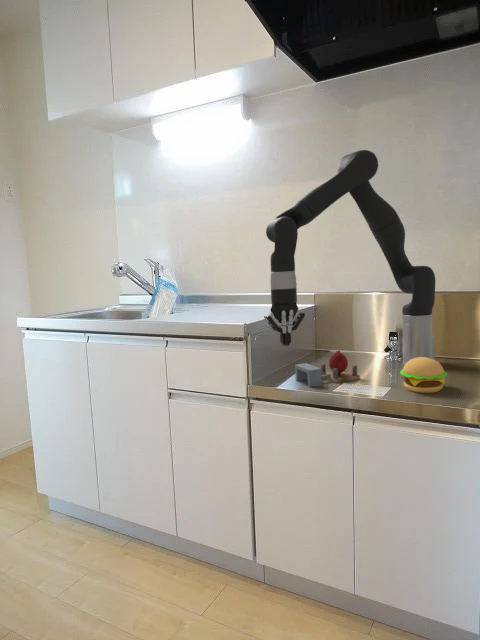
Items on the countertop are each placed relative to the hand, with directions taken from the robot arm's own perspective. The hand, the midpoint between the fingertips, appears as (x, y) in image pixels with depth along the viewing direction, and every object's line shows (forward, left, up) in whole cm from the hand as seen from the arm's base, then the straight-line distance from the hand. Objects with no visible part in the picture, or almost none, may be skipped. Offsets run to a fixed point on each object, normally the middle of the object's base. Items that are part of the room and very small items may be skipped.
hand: (285, 345), depth 132 cm
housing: (-7, 0, -13) cm, 14 cm away
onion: (-18, 0, -12) cm, 21 cm away
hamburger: (-31, +22, -13) cm, 40 cm away
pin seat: (-16, 0, -13) cm, 20 cm away
